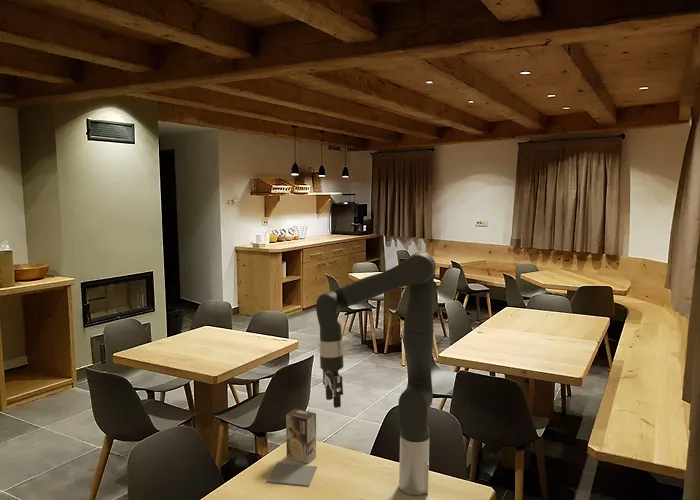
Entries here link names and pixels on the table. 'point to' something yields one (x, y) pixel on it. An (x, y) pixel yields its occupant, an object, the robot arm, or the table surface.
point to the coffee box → (301, 435)
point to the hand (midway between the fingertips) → (333, 403)
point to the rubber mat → (292, 474)
